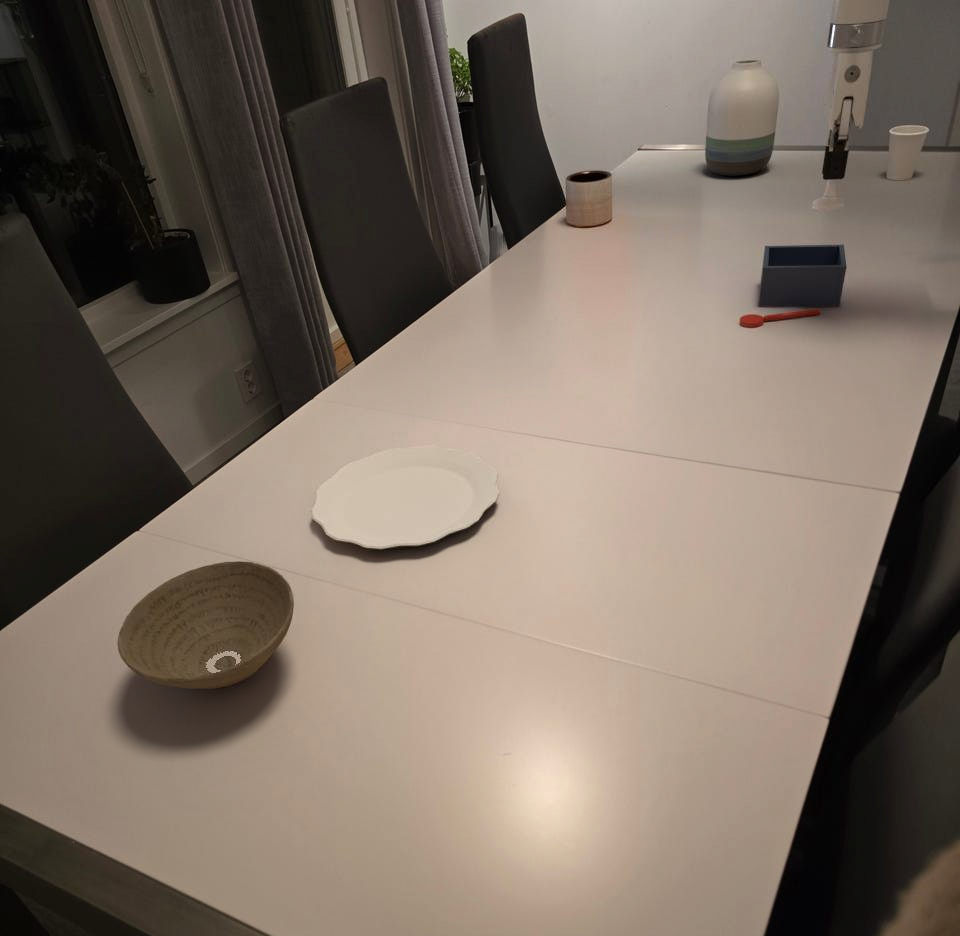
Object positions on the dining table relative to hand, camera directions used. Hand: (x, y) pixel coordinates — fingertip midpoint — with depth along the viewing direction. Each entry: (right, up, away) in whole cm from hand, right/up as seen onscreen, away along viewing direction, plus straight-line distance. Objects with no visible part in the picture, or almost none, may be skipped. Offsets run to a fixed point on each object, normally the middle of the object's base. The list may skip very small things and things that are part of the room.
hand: (832, 175), depth 133 cm
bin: (+2, -11, +19) cm, 22 cm away
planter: (-30, +25, +65) cm, 76 cm away
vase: (+11, +48, +84) cm, 97 cm away
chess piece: (0, -4, +3) cm, 5 cm away
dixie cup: (+44, +36, +66) cm, 88 cm away
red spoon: (-5, -19, +12) cm, 23 cm away
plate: (-66, -56, -21) cm, 89 cm away
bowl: (-84, -78, -42) cm, 122 cm away
